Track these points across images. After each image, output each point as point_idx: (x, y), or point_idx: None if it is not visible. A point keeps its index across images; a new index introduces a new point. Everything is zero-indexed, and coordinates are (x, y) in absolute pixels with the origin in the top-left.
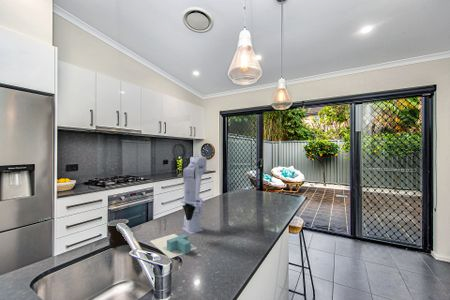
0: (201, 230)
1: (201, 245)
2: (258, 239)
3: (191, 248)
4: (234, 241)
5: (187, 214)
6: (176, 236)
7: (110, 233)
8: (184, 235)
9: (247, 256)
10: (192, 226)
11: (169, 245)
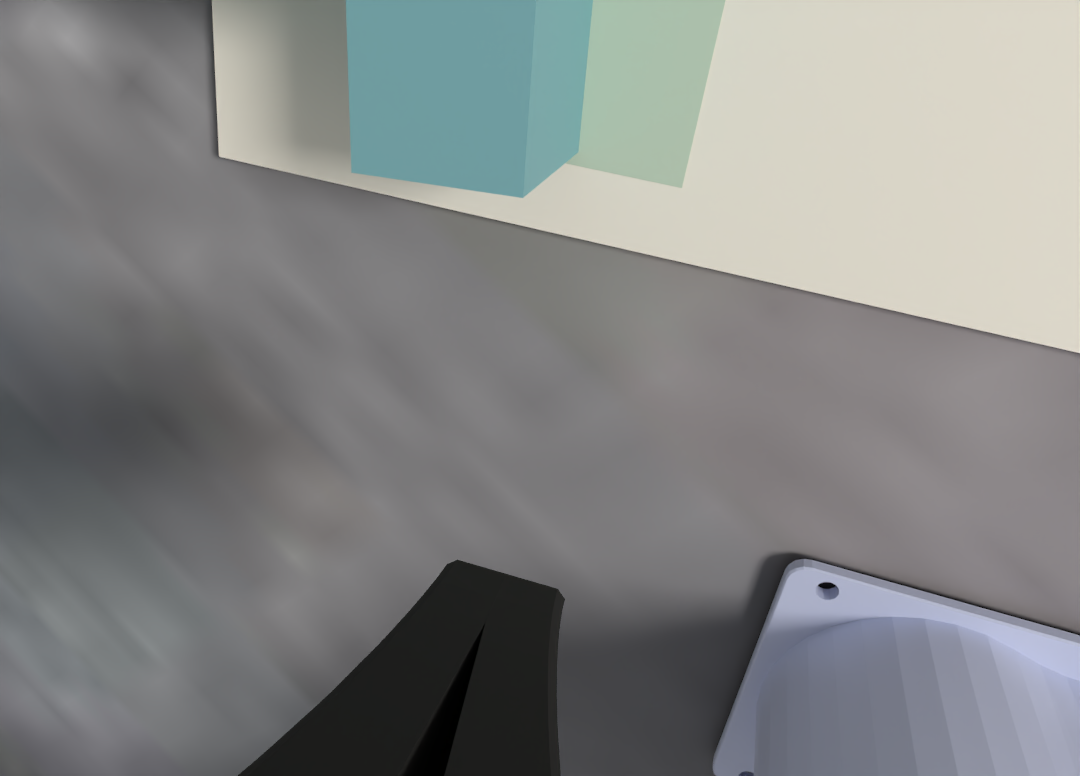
0: (722, 740)
1: (293, 301)
2: (8, 762)
3: (272, 69)
4: (109, 628)
5: (291, 736)
6: (1018, 292)
7: None
8: (453, 144)
9: None
10: (834, 721)
11: None
